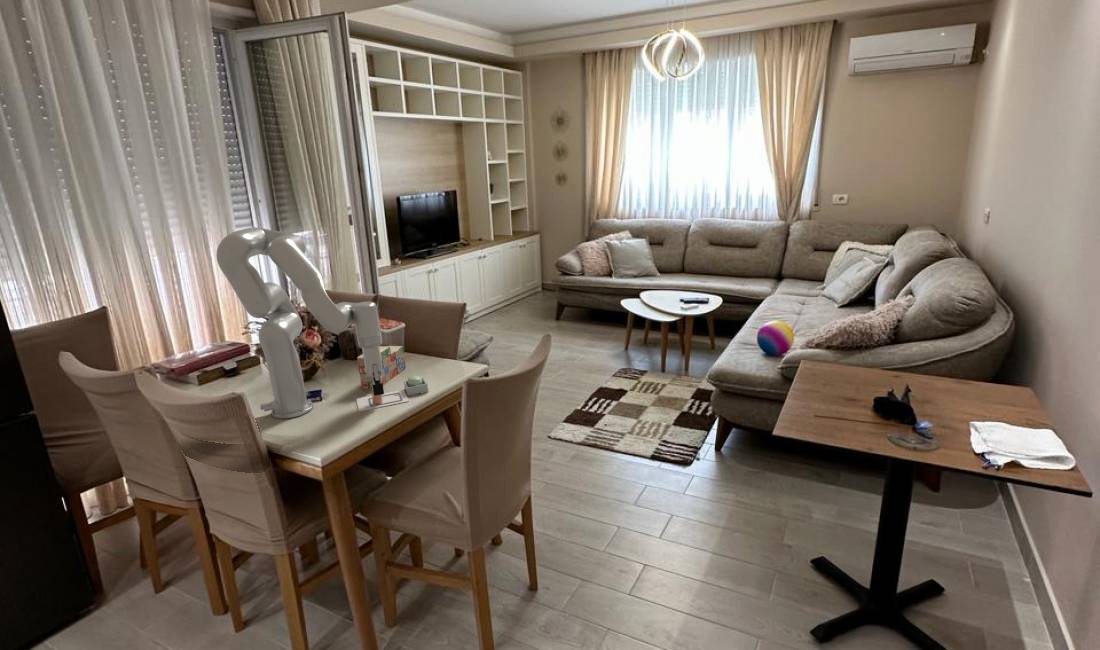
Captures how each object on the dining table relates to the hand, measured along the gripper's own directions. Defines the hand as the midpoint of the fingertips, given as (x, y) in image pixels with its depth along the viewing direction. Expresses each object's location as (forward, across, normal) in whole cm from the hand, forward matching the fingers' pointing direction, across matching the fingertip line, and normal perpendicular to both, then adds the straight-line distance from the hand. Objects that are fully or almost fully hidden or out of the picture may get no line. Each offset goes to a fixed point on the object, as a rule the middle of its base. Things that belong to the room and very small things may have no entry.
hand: (378, 392), depth 190 cm
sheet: (+4, -2, +1) cm, 5 cm away
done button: (+3, -5, +13) cm, 14 cm away
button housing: (+4, -5, +13) cm, 15 cm away
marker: (+4, 0, -1) cm, 4 cm away
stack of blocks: (+4, -23, +4) cm, 24 cm away
